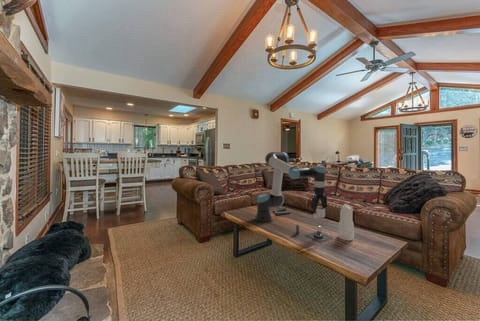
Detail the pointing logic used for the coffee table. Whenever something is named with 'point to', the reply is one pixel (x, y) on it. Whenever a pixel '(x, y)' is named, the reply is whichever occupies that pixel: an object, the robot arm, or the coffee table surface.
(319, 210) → the grey octagonal holder
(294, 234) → the stand
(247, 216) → the coffee table surface
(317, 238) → the square peg base
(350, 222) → the decorative vase
